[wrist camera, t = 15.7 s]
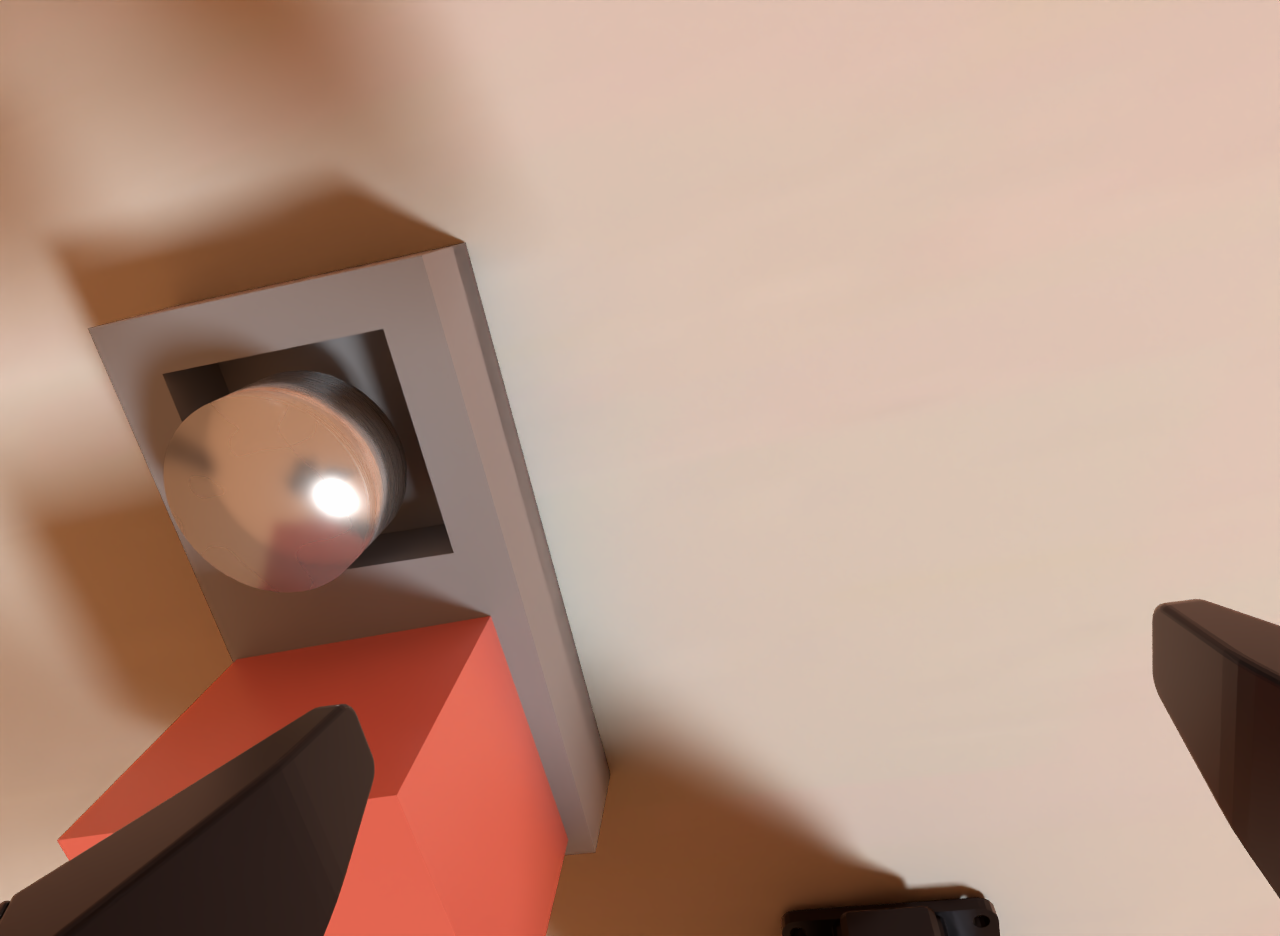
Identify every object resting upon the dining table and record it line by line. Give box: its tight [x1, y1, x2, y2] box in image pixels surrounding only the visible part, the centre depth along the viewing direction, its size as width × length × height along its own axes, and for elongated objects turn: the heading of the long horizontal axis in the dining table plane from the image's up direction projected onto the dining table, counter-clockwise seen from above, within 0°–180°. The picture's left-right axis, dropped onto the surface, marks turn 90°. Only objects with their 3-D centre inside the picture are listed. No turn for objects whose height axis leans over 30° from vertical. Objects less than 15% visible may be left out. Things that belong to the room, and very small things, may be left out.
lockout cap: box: [57, 616, 568, 936], centre depth 19 cm, size 7×7×6 cm
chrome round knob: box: [163, 370, 407, 593], centre depth 18 cm, size 4×4×2 cm
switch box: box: [88, 243, 610, 855], centre depth 21 cm, size 16×8×3 cm, turn 12°
